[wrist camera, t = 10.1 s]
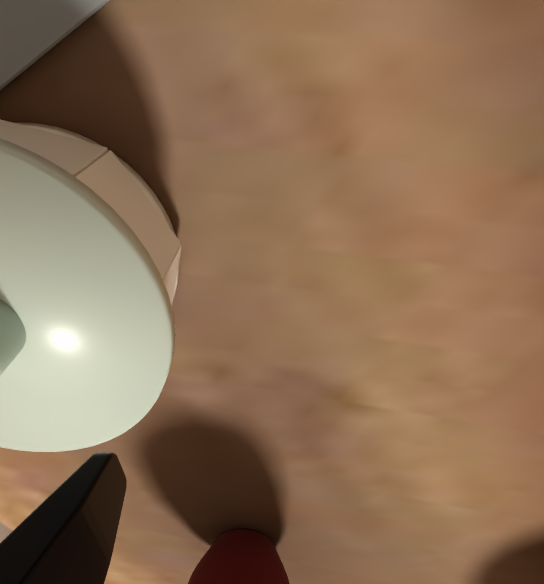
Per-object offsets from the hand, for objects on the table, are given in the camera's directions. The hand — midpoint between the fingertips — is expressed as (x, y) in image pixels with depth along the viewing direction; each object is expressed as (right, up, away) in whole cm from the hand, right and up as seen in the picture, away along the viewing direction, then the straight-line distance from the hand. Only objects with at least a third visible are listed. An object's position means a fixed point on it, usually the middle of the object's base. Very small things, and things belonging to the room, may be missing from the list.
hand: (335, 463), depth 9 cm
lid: (-11, +3, +8) cm, 14 cm away
